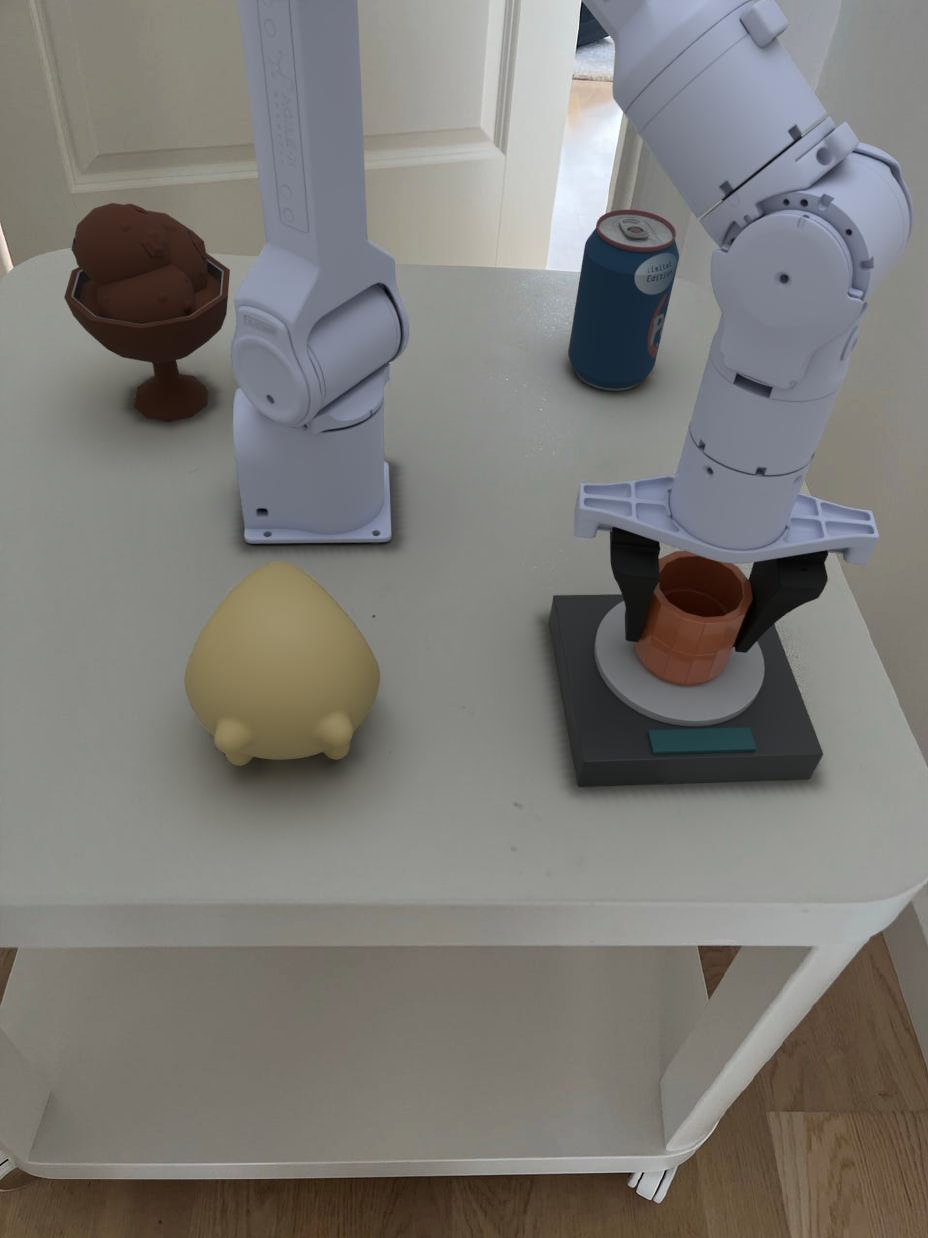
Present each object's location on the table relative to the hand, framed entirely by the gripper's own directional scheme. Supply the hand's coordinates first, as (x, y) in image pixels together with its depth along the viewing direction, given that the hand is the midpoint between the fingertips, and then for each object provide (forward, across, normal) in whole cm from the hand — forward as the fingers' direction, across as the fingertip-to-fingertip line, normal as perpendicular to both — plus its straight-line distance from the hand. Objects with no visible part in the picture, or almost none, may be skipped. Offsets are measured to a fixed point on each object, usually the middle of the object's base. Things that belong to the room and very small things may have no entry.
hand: (686, 633), depth 56 cm
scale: (+5, 0, +1) cm, 5 cm away
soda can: (+5, +3, -32) cm, 33 cm away
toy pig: (+5, +22, +5) cm, 23 cm away
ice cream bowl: (+5, +36, -23) cm, 43 cm away
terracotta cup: (+2, 0, 0) cm, 2 cm away
